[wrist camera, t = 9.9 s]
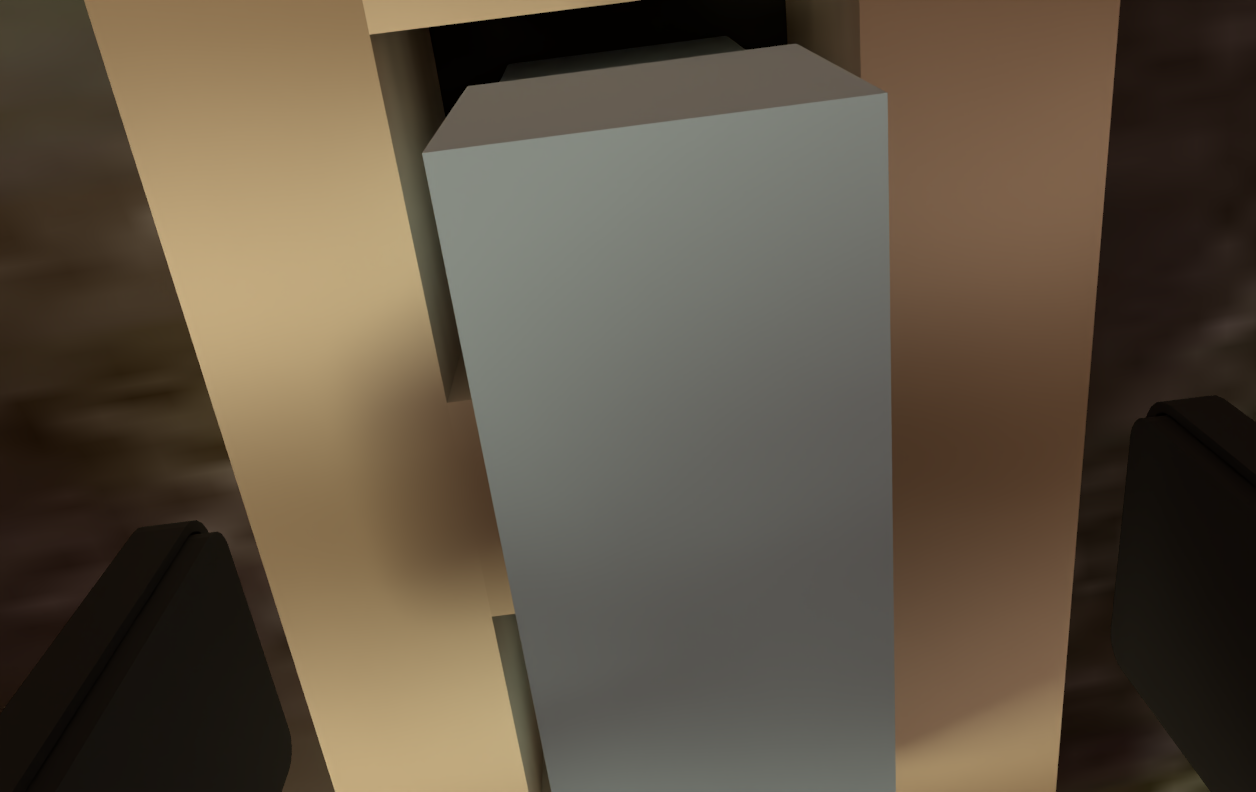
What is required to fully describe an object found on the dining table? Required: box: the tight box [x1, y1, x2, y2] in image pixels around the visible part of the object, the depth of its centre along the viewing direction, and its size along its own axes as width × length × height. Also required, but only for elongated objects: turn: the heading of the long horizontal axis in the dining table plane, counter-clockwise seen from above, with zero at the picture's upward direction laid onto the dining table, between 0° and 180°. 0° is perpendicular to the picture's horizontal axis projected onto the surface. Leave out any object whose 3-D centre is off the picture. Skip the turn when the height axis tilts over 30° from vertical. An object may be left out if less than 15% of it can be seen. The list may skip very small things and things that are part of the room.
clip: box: [422, 36, 896, 792], centre depth 12 cm, size 10×3×8 cm, turn 7°
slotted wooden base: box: [84, 0, 1120, 792], centre depth 14 cm, size 22×10×4 cm, turn 7°
